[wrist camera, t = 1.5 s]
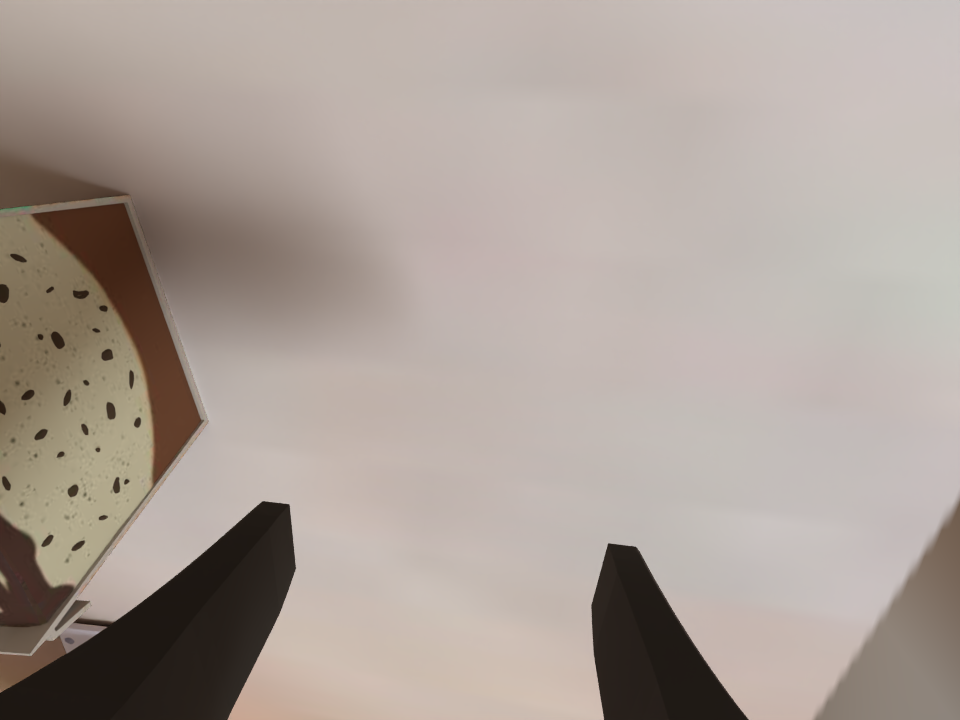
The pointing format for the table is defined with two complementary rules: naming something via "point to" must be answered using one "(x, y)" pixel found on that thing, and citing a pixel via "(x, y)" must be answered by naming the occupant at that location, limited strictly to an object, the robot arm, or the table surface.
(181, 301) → the table surface
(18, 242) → the food container
